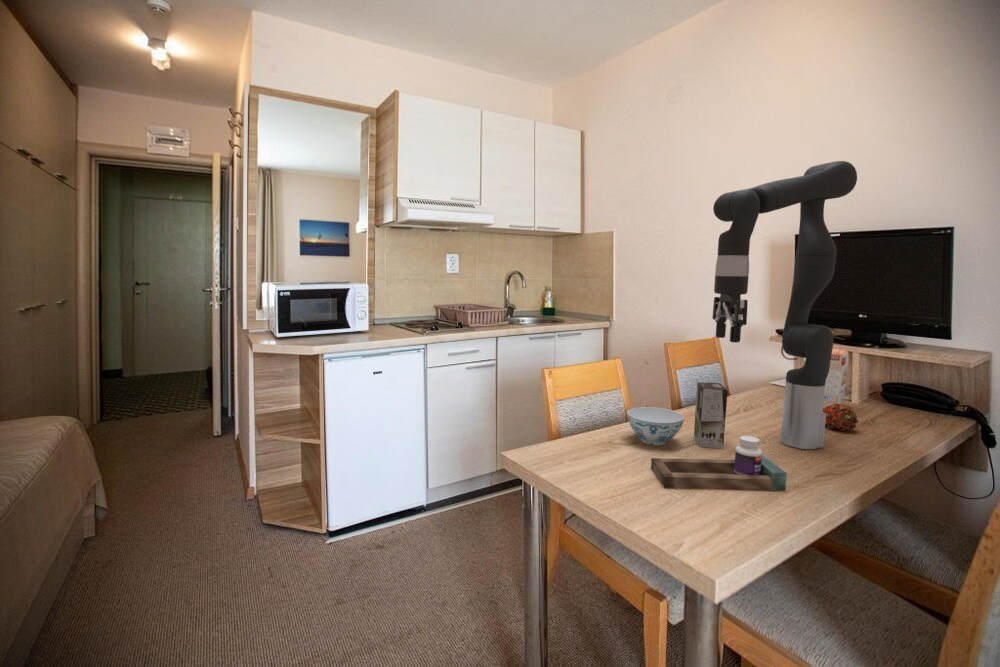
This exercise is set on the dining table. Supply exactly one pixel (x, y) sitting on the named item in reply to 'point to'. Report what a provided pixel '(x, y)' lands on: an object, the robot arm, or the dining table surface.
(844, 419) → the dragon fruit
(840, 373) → the cracker box
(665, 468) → the channel
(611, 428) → the dining table surface
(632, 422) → the chinaware
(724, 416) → the coffee box
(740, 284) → the robot arm
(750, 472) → the pill bottle
